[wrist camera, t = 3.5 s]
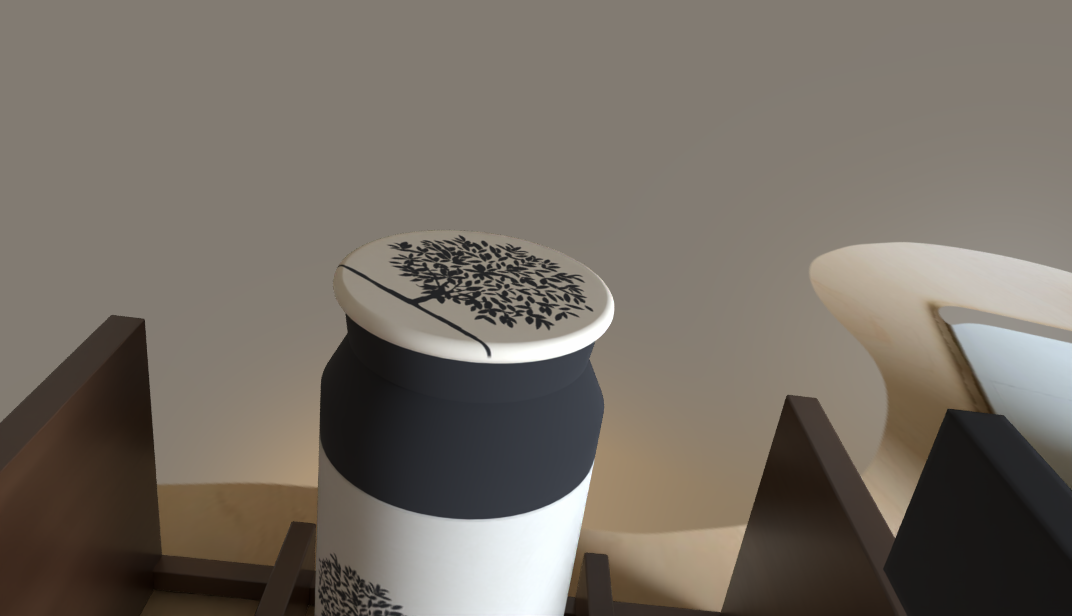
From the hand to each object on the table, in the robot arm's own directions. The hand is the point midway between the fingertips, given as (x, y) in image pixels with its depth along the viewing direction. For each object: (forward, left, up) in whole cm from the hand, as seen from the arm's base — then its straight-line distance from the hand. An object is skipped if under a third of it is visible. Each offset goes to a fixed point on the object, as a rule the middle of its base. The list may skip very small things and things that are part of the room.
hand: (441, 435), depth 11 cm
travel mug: (0, -12, -21) cm, 24 cm away
